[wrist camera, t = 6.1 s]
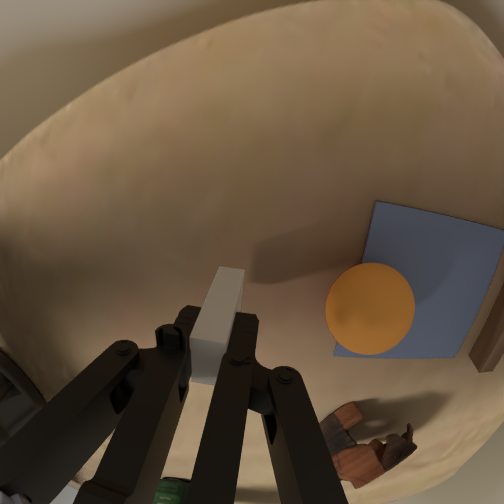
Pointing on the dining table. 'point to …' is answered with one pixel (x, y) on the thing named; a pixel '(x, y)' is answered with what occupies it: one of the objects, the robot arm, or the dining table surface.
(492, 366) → the stopper strip
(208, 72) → the dining table surface
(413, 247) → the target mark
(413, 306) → the ball
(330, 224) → the dining table surface
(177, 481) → the coffee jar
